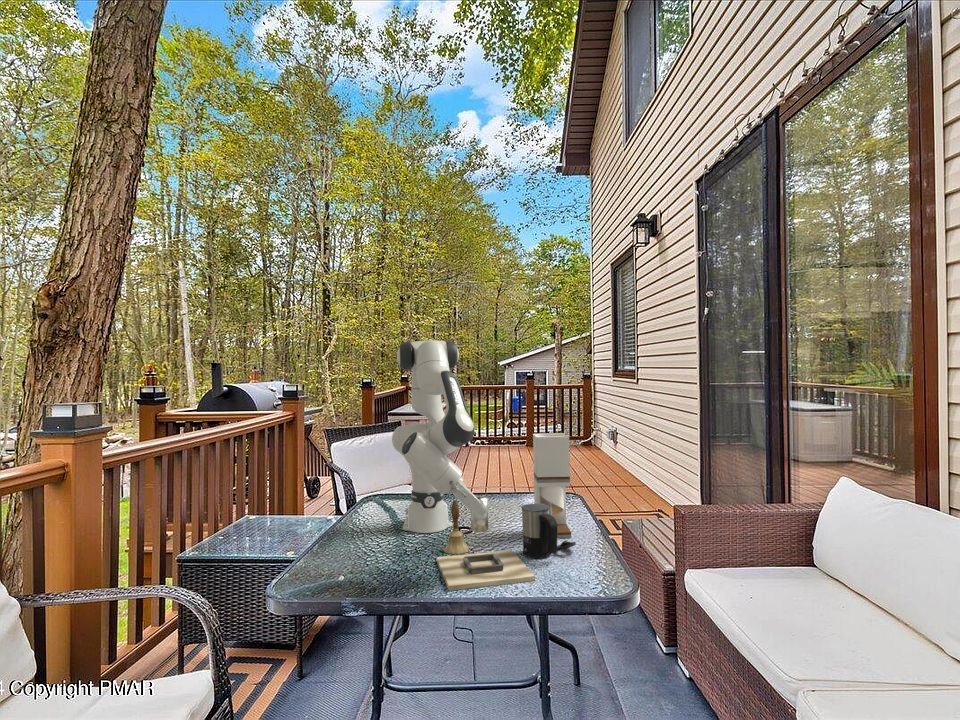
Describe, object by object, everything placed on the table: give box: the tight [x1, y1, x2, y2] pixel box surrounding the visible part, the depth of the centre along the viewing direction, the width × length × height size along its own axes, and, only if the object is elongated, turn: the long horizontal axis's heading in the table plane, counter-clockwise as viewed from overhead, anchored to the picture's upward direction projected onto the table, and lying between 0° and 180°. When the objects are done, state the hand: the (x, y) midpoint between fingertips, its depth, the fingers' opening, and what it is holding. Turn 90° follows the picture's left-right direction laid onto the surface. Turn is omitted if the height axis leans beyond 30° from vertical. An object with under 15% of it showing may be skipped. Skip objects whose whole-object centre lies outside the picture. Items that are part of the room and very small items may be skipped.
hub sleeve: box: [470, 495, 489, 533], centre depth 145 cm, size 5×5×9 cm
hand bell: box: [443, 500, 470, 556], centre depth 162 cm, size 8×8×16 cm
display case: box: [532, 432, 572, 539], centre depth 178 cm, size 11×11×35 cm
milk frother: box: [520, 503, 577, 559], centre depth 158 cm, size 14×16×15 cm
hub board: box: [436, 549, 536, 591], centre depth 144 cm, size 22×24×3 cm
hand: (481, 510), depth 145 cm, fingers closed on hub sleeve, 5 cm apart
